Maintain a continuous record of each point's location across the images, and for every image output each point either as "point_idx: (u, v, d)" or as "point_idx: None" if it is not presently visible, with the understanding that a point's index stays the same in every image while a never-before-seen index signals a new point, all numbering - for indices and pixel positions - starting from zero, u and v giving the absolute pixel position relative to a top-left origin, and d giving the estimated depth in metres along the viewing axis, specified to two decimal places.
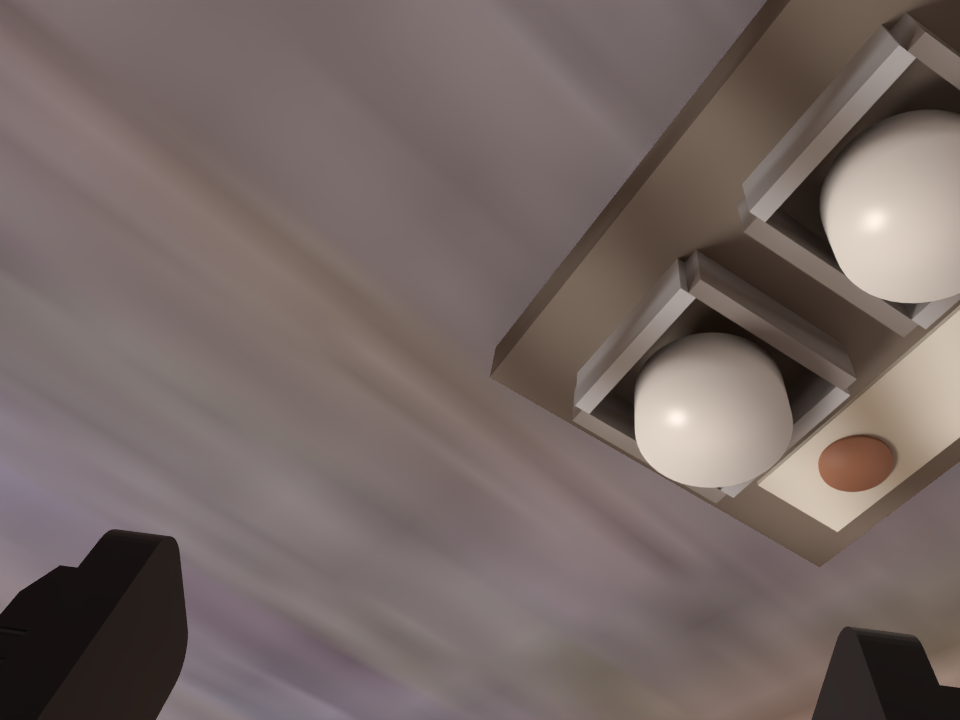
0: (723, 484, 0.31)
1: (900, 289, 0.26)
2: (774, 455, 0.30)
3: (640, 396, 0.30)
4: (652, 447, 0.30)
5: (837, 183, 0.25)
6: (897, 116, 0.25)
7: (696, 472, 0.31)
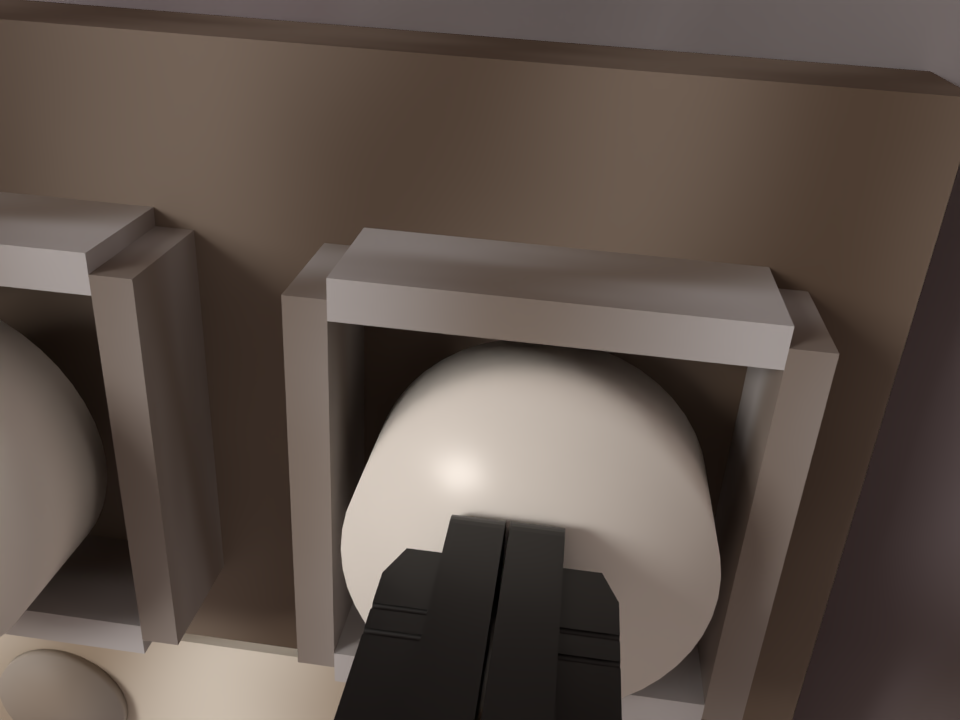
0: None
1: None
2: None
3: None
4: None
5: None
6: (17, 334, 0.13)
7: None
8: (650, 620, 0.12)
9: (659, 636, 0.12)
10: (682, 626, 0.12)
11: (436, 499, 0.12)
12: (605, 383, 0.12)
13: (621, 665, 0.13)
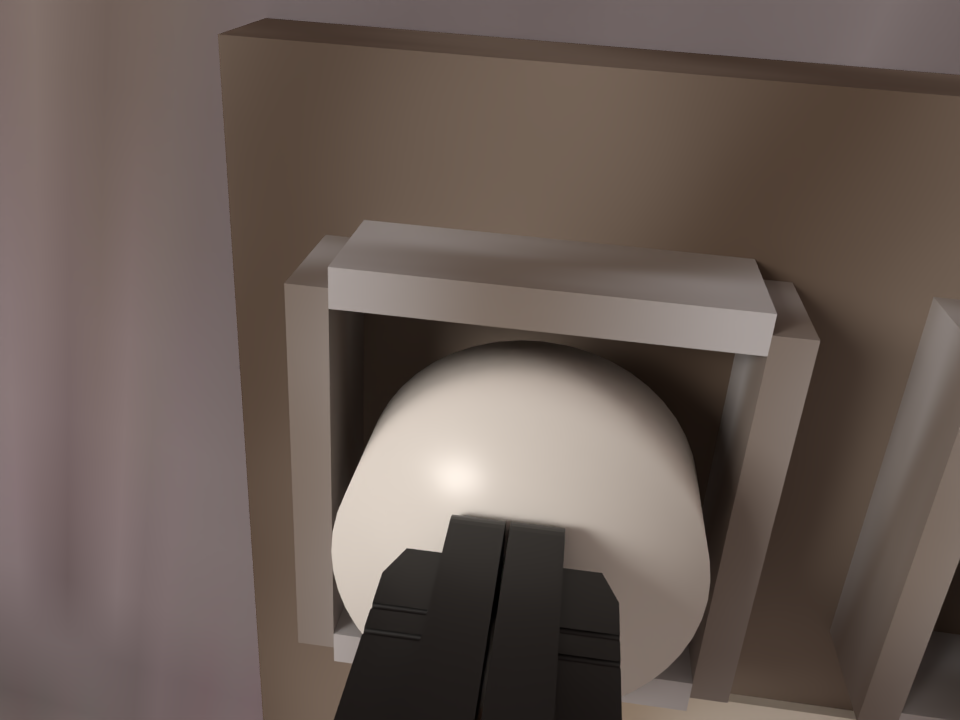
0: None
1: None
2: None
3: (485, 390, 0.12)
4: (387, 492, 0.12)
5: None
6: None
7: None
8: None
9: None
10: None
11: None
12: None
13: None
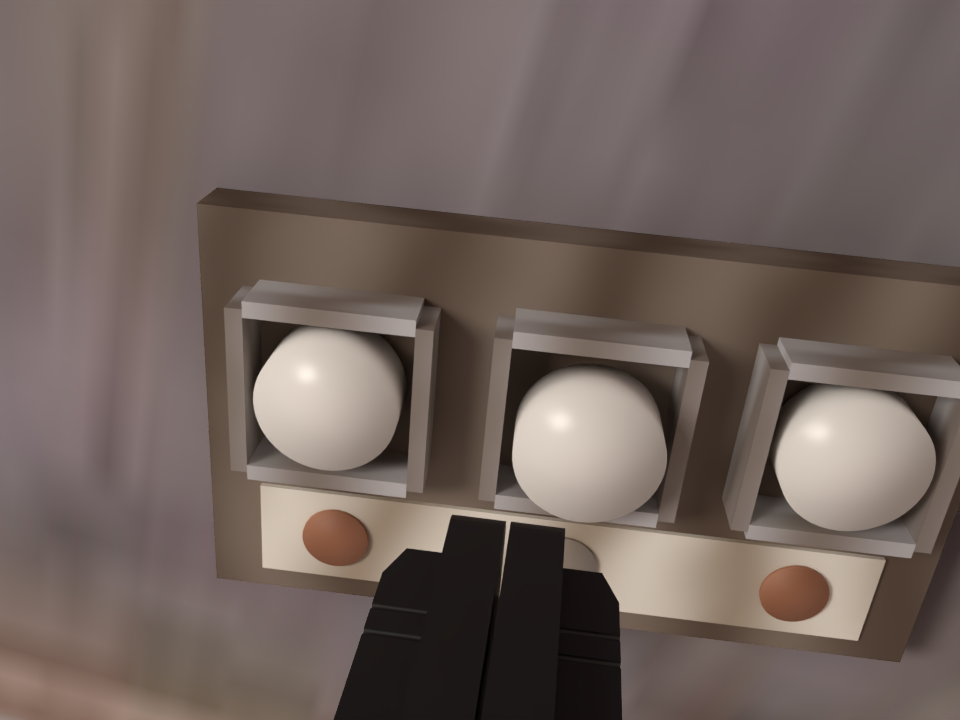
0: (279, 447, 0.32)
1: (528, 475, 0.30)
2: (335, 464, 0.32)
3: (311, 335, 0.31)
4: (274, 374, 0.31)
5: (578, 380, 0.29)
6: (639, 382, 0.31)
7: (275, 421, 0.32)
8: (903, 488, 0.31)
9: (906, 495, 0.31)
10: (916, 491, 0.31)
11: (827, 439, 0.30)
12: (889, 395, 0.30)
13: (888, 509, 0.31)
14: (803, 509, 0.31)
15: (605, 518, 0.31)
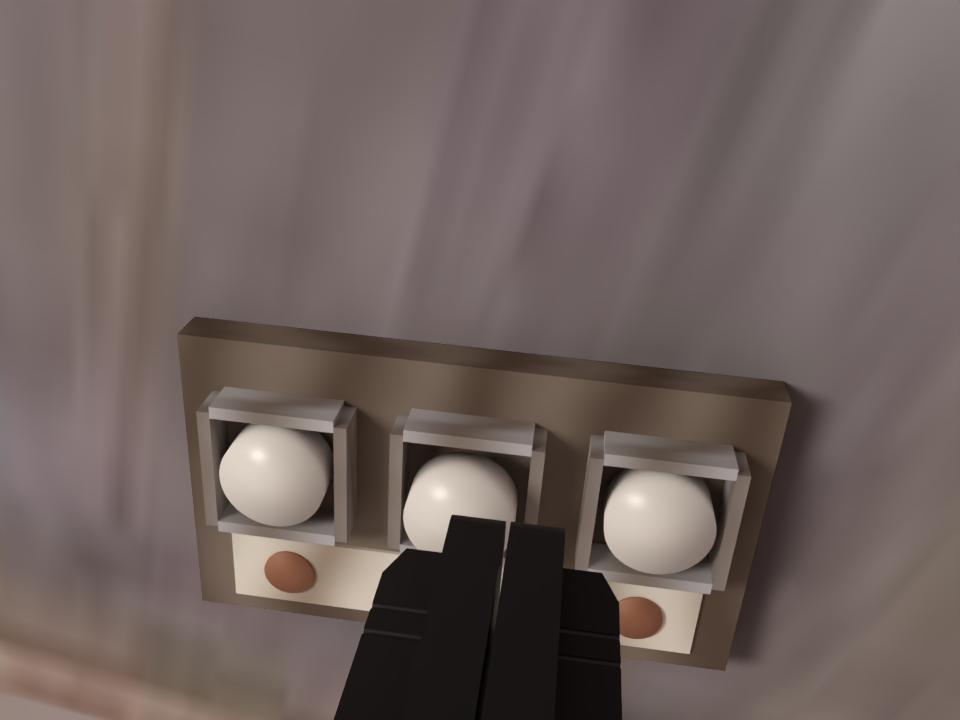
0: (240, 509, 0.44)
1: (416, 533, 0.41)
2: (280, 522, 0.44)
3: (259, 430, 0.42)
4: (233, 458, 0.42)
5: (449, 466, 0.40)
6: (498, 465, 0.42)
7: (236, 491, 0.43)
8: (695, 544, 0.41)
9: (698, 549, 0.41)
10: (705, 546, 0.41)
11: (635, 508, 0.41)
12: (683, 475, 0.41)
13: (686, 558, 0.42)
14: (624, 558, 0.42)
15: None
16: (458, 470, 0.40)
